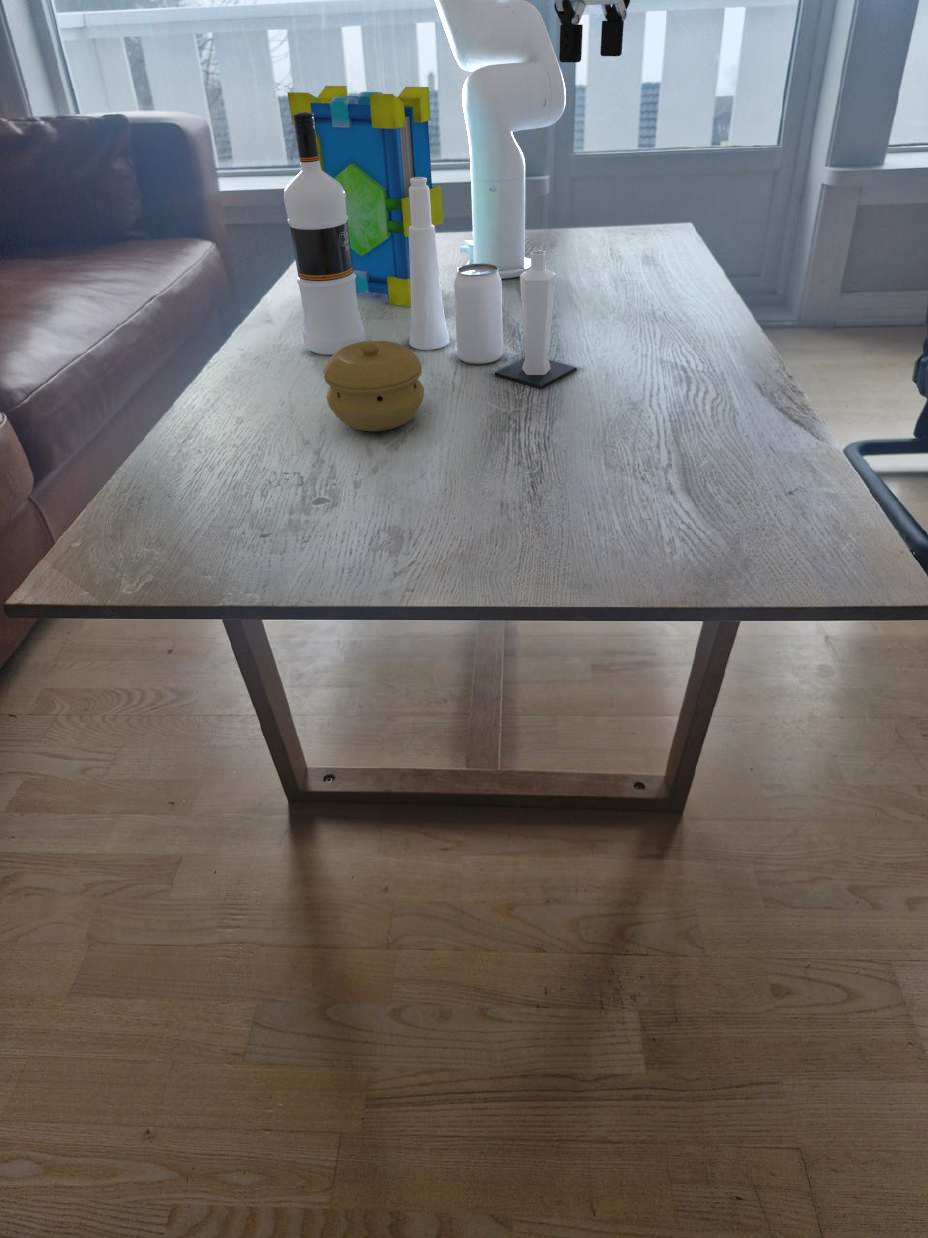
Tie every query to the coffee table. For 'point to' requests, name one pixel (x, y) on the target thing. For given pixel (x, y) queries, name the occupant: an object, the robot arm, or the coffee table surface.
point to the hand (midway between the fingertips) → (590, 58)
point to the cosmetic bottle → (424, 273)
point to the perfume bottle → (537, 313)
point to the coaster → (538, 381)
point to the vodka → (322, 250)
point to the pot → (374, 385)
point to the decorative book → (375, 175)
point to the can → (478, 313)
